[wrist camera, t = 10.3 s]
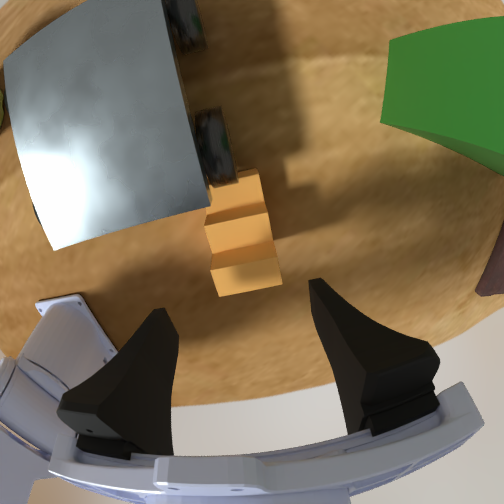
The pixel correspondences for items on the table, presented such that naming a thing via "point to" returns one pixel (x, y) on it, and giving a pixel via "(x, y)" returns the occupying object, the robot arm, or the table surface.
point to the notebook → (493, 270)
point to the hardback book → (451, 88)
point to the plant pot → (1, 108)
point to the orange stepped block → (241, 237)
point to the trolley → (114, 119)
